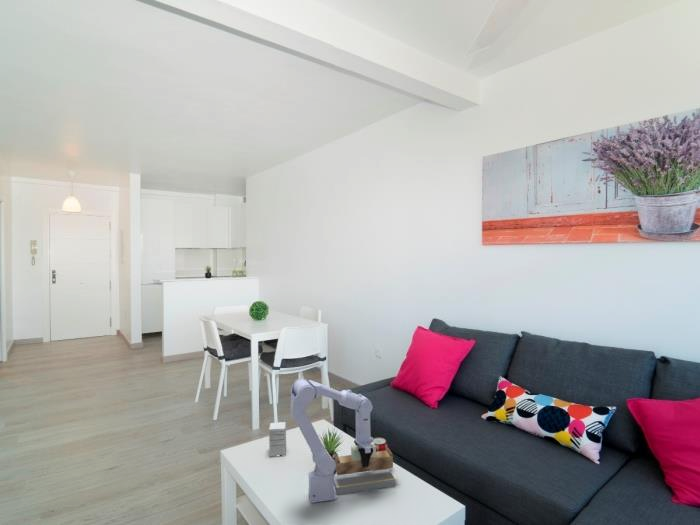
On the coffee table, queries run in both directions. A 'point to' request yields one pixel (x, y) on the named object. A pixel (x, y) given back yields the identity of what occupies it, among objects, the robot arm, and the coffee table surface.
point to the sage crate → (355, 452)
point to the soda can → (380, 445)
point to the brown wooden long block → (349, 466)
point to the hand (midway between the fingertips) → (363, 462)
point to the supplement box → (277, 438)
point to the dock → (363, 481)
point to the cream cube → (373, 450)
